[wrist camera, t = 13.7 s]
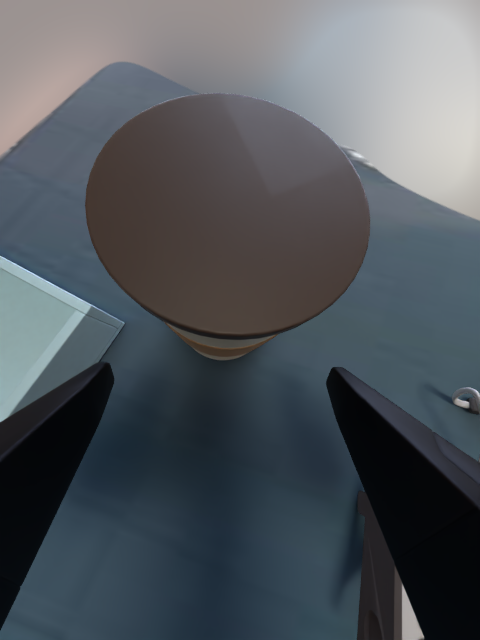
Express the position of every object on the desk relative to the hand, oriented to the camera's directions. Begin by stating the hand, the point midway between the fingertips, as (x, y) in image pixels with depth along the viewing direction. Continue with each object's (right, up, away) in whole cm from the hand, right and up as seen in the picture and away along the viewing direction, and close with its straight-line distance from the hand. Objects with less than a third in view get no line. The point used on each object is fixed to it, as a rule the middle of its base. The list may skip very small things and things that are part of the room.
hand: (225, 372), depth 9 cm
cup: (-1, +2, +8) cm, 9 cm away
